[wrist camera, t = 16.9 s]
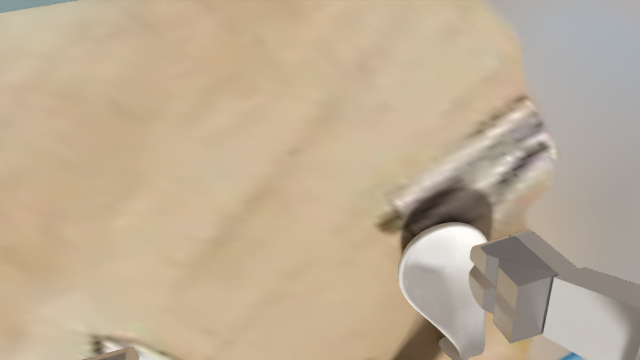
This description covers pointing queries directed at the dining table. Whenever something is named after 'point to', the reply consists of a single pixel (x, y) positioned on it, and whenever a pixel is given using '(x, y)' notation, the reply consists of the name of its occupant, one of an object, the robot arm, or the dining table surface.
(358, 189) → the dining table surface
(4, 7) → the parts tray
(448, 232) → the spoon rest
